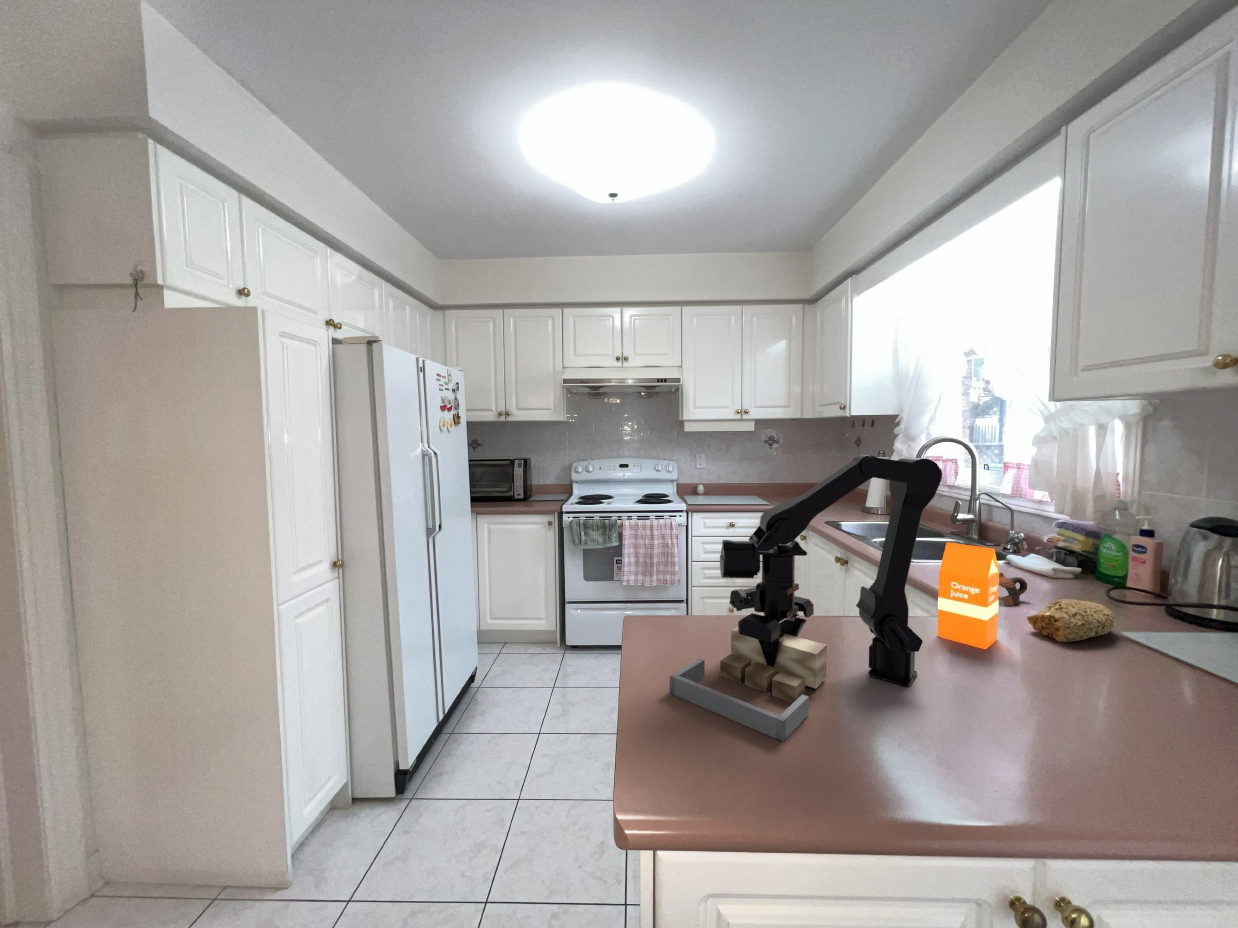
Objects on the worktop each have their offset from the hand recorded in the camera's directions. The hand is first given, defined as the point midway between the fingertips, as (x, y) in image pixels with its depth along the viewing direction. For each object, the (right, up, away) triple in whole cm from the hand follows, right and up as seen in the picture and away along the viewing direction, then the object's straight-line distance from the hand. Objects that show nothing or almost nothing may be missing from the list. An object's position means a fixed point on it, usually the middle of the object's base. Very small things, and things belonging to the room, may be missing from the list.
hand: (777, 661), depth 91 cm
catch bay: (-10, -3, -11) cm, 15 cm away
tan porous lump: (+71, -1, +18) cm, 73 cm away
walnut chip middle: (-4, -2, -5) cm, 7 cm away
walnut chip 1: (-8, -2, -1) cm, 8 cm away
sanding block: (0, -1, 0) cm, 1 cm away
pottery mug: (+71, 0, +39) cm, 81 cm away
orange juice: (+45, -1, +15) cm, 48 cm away
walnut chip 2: (-1, -3, -8) cm, 8 cm away
